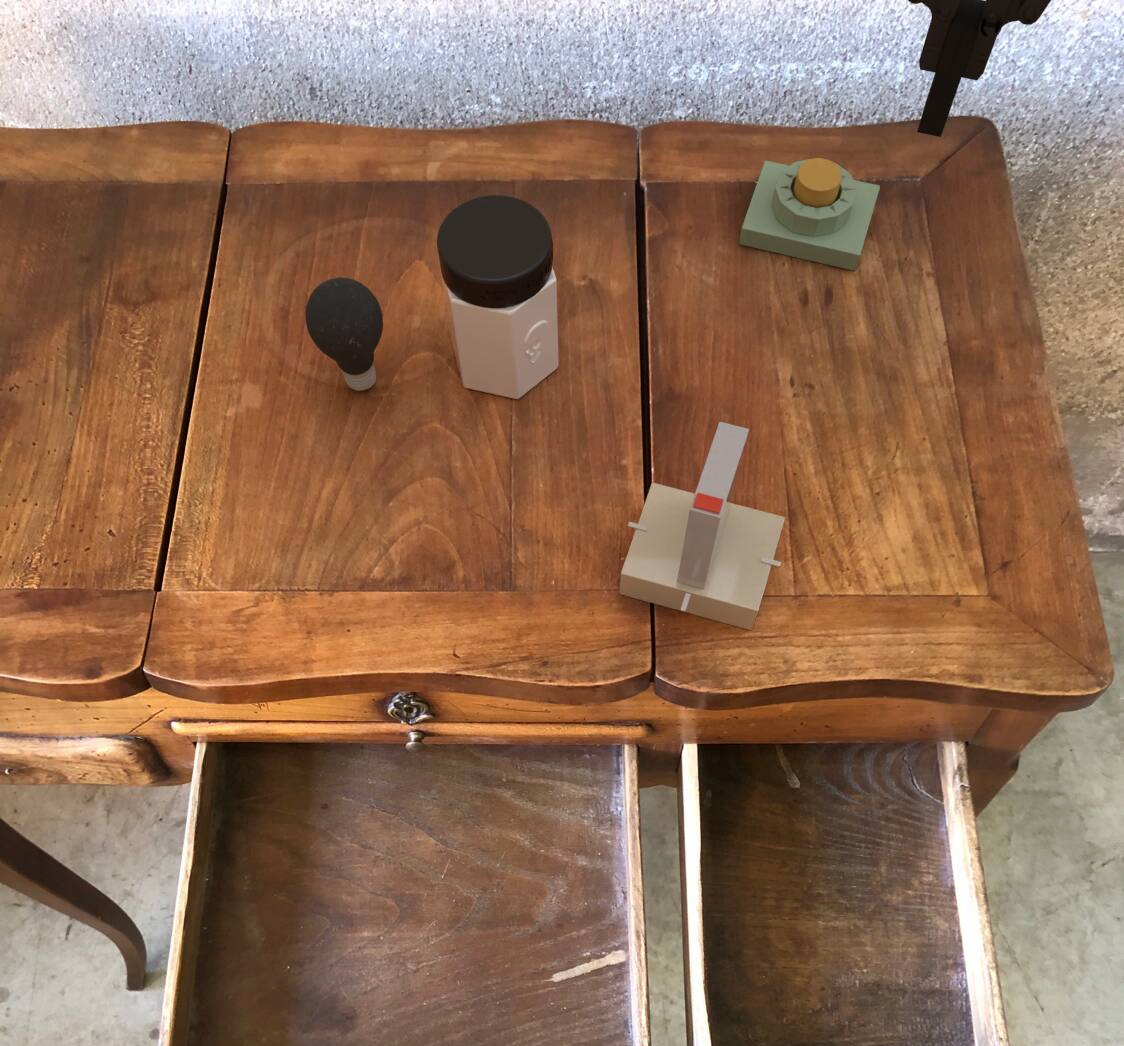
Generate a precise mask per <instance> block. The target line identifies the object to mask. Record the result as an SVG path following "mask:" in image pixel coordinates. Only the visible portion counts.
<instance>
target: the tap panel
mask: <svg viewBox="0 0 1124 1046" xmlns="http://www.w3.org/2000/svg"><path fill="white" fill-rule="evenodd" d="M694 495H695V492H692V491H691V492H690V491H686V490H683V489H679V488H676V487H671V486H668V485H664V484H660V483H656V482H651V484H650V487H649V489H648V492H647V496H646V498H645V502H644V505H643V507H642V510H641V514H640V516H639V519H638V521H637V523H636V522H633V521H628V525H627V527H628V528H631V529H635V530H634V533H633V537H632V539H631V542H630V545H629V547H628V551H627V554H626V556H625V560H624V563H623V566H622V569H621V571H620V579H619V591H618V593H619V595H622V596H625V597H629V598H633V599H636V600H640V601H642V602H647V603H649V604H650V603H651V604H655V605H658V606H661V607H665V608H668V609H671V610H676V611H680V612H683V613H687V614H691V615H693V616H698V617H702V618H704V619H708V620H712V621H716V622H718V623H719V622H720V623H724V624H727V625H730V626H734V627H737V628H741V629H746V630H748V631H752V630H753V628H754V625H755V623H756V619H757V616H758V613H759V610H760V607H761V603H762V601H763V600H762V599H763V596H764V593H765V589H766V586H767V582H768V579H769V576H770V573H771V569H772V566H774V567H777V568H781V565H782V561H779V560H775V559H774V558H775V555H776V551H777V548H778V544H779V542H780V538H781V534H782V530H783V527H784V524H785V520H786V517H785V516H783V515H782V516H781V515H779V514H774V513H770V512H767V511H764V510H760V509H755V508H752V507H747V506H744V505H740V504H737V503H733V502H732V503H731V508H730V511H729V514H728V517H727V520H726V523H725V526H724V529H723V533H722V536H721V539H720V542H719V545H718V548H717V551H716V554H715V557H714V560H713V564H712V567H711V570H710V573H709V576H708V579H707V582H706V585H705V588H704V589H702V588H698V587H695V586H691V585H688V584H684V583H680V582H677V578H678V572H679V567H680V561H681V555H682V550H683V544H684V538H685V533H686V527H687V522H688V516H689V510H690V507H691V504H692V501H693V498H694Z"/></svg>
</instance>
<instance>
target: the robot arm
mask: <svg viewBox="0 0 1124 1046" xmlns="http://www.w3.org/2000/svg"><path fill="white" fill-rule="evenodd" d="M1051 1H1052V0H907V2H909V3H911V4H912V5H919V4H923V5H924V6H925V7H927V8H928V10H929V12H930V14H931V19H930V23H929V26H928V30H927V33H926V35H925V38H924V39H925V40H924V43H923V45H922V49H921V53H920V56H919V58H918V65H919V70H920V71H925V72H929V73H934V75H933V78H932V81H931V84H930V86H929V91H928V93H927V96H926V100H925V103H924V106H923V110H922V114H921V116H920V119H919V124H918V127H917V130H916V133H920V134H925V135H929V136H934V137H938V138H941V137H942V135H943V132H944V129H945V127H946V123H947V120H948V117H949V115H950V111H951V110H952V106H953V103H954V100H955V98H956V95H957V92H958V89H959V86H960V83H961V80H962V78H963V79H967V80H972V81H978V80H979V79H980V78H981V77H982V76H983V74H984V73H985V70H986V68H987V65H988V63H989V60H990V57H991V54H992V51H993V49H994V47H995V43H996V40H997V38H998V36H999V35H1000V33H1001V31H1002V29H1003V27H1004V26H1005V25H1007V24H1010V23H1013V22H1019V23H1021V24H1022V25H1025V26H1031V25H1033V24H1035V23H1036V22H1038V20H1040V18H1041V16H1043V13H1044V12H1045V11H1046V9H1047V7H1048V6H1049V5H1050V3H1051Z"/></svg>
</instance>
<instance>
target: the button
mask: <svg viewBox="0 0 1124 1046" xmlns="http://www.w3.org/2000/svg"><path fill="white" fill-rule="evenodd" d="M809 159H810V160H808V159H806V160H807V161H805V162H804V163H802V164H801V166H800V167H799V169H798V171H797V176H796V180H795V185H794V190H793V192H794V196H795V198H796V199H797V200H798V201H799V202H800V203H802V204H803V205H805V206H810V207H814V208H821V207H827V206H829V205H831V204H832V203H833V202H834V201H835V199H836V197H837V194H838V191H839V187H840V183H841V180H842V173H841V170H840V168H839V167H838V166H837V165H838V164H837V163H836V164H837V165H836V164H835V162H834V161H832V160H830V159H826V158H822V157H813V158H809Z"/></svg>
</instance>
